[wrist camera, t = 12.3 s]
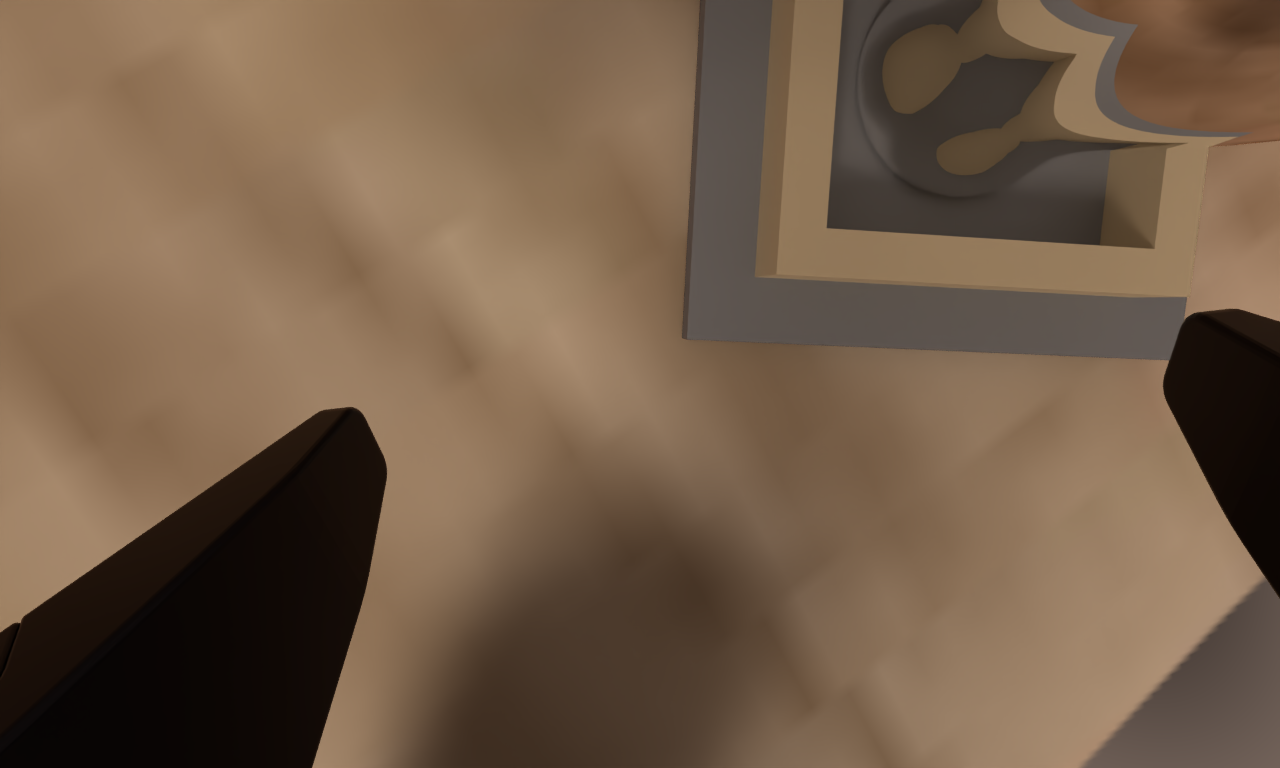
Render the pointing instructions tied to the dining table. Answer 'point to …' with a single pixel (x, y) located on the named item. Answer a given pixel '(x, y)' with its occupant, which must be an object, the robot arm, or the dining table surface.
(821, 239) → the socket board
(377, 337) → the dining table surface
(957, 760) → the dining table surface
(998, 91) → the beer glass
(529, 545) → the dining table surface
